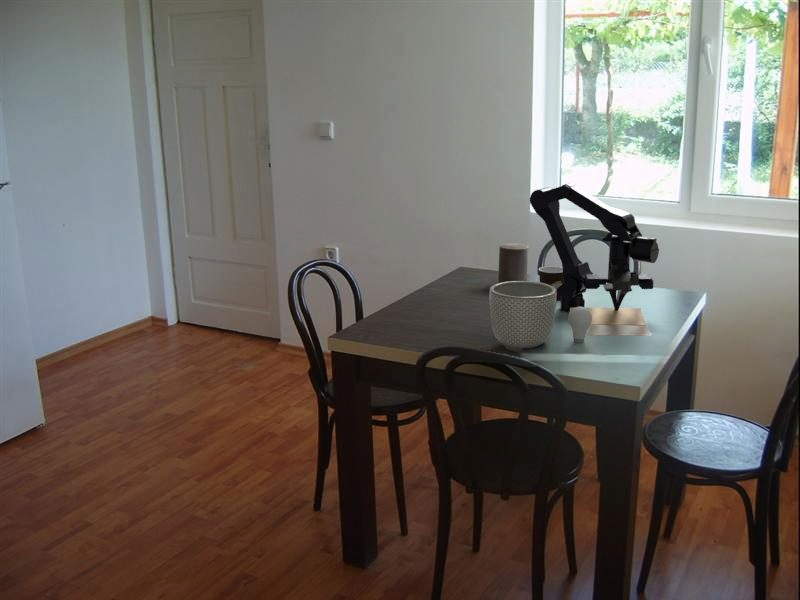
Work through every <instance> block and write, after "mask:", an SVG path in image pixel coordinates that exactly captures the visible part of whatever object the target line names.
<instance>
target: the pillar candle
mask: <svg viewBox="0 0 800 600" xmlns="http://www.w3.org/2000/svg"><path fill="white" fill-rule="evenodd" d="M498 253H499V254H498V277H497V279H498V283H501V282H508V281H528V267H529V266H528V265H529V245H526V244H522V243H515V242H514V241H513V242H512V243H502V244H500V245H499V252H498Z"/></svg>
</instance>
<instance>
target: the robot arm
mask: <svg viewBox="0 0 800 600" xmlns="http://www.w3.org/2000/svg"><path fill="white" fill-rule="evenodd" d="M565 199H566V200H568V201H569V202H571V203H572V204H574V205H575V206H577V207H578V208H580V209H582V210H583V211H585V212H587V213H588V214H590V215H591V216H592V217H594V218H596V219H597V220H598V221H599V222H600V223H601V225H602V227H604V228H605V229H606V230H607V231H608V233H607V235H606V236H603V238H602V242H608V243H609V250H608V266H607V269H608V270H607V277H600V276H599V275H598V274H594V273H593V271H591V269H590V265H589V263H588V261H585V262H583V261H581V259H579V257H578V255H577V253H576V250H575V248H574V245H573V243H572V240H571V238H570V236H569V234H568V232H567V229H566V226H565V224H564V222H563V220H562V217H561V214H560V206H561V205H560V200H565ZM529 204H530V205H531V207H532V209H533V210H534V212H535V213H536V214H537V215H538V217H540V218H541V219H542V220H543V222H544V224H545V226H546V228H547V230H548V233H549V235H550V238H551V240H552V243H553V245H554V248H555V250H556V252H557V254H558V258H559V260H560V261H561V264H562V268H563V279H564V283H563V284H562V285H561V286H560V287H558V288H557V289H556V290H557V294H558V296H560V301H559V303H560V304H559V309H560V311H561V312H565V313H566V312H567V313H570V308H575V307H585V304H586V301H585V298H584V293H586V292H587V290H598V289H599V288H600V286H603V288H604V291H606V292H607V293H609V295H610V299H611V302H612V304H613V305H612V306H613V308H614V309H615V311H618V310H619V308H621V304H622V302H623V301H624V298H625V296H626V295H627V294H628V293H629V292H630V293H631V292H633V288H632V287H633V286H638V287H640V289H641V290H652V289H654V280H653V278H652V277H651V276H650V274H639V272H638V271H631V270H630V267H631V266H630V265H631V264H630V263H631V262H630V261H631V260H630V259H632V260H633V261H637V262H643V263H644V262H645V263H649V264H650V263H651V264H654V263H656V261H657V260H658V256H659V253H660V248H659V244H658V242H657V238H656V237H645V236H643V234H642V233H641V231H640V229H639V228H638V226H637V224H636V220H635V217H634V215H633V214H632V213H630V212H627V211H624V210H622V209H621V208H620V209H619V208H616V207H612V206H609V205H608V204H606V203H604V202H602V201H601V200H599V199H598V198H596V197H594V196H593V195H591V194H589V193H588V192H586V191H585V190H583V189H582V188H580V187H579V186H578V185H576V183H573V182H570V183H565V184H562V185H561V186H558V187H555V188H552V187H550V186H549V187H544V188H539V189H536V190H533V191H532V192H531V194H530V196H529ZM585 308H586V307H585Z"/></svg>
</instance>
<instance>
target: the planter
mask: <svg viewBox="0 0 800 600" xmlns="http://www.w3.org/2000/svg"><path fill="white" fill-rule="evenodd" d="M488 296H489V297H488V298H489V315H490V324H491V329H492V333H493V336H494V337H495V339H497V341H498V342H499V343H501V344H502V345H503V346H504V348H505V349H506V350H507V351H510V352H513V353H524V351H523V349H533V348H536V347H539V346H540V345H542V344H544V343H545V342H546V341H548V340H549V338H550V337H551V335H552V331H553V327H554V326H553V325H554V320H555V315H556V306H557V305H556V304H557V301H556V298H557V293H556V289H555V288H554V287H553V286H551V285H548V284H545V283H540V281H532V280H531V281H529V280H527V281H508V282H501V283H495V284H493V285H491V286H490V288H489V295H488Z"/></svg>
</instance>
